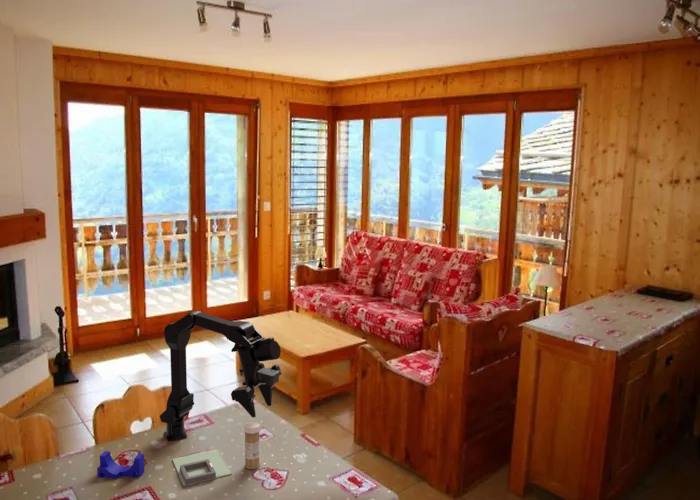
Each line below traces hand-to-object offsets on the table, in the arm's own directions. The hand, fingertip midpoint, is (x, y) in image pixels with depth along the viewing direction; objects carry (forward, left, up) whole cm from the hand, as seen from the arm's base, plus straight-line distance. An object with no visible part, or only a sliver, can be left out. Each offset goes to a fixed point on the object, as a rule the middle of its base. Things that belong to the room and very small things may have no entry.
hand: (262, 411), depth 174 cm
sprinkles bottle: (+4, -4, -15) cm, 16 cm away
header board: (-2, -18, -15) cm, 24 cm away
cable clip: (-8, -40, -16) cm, 44 cm away
